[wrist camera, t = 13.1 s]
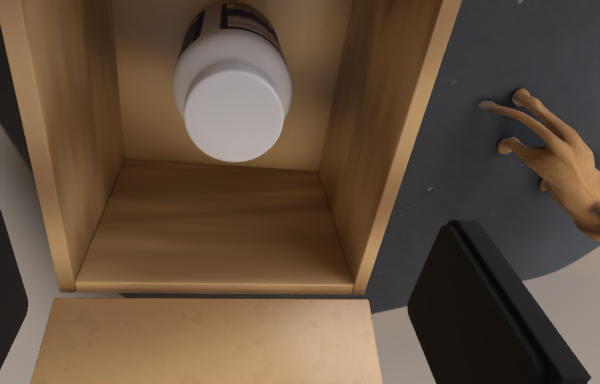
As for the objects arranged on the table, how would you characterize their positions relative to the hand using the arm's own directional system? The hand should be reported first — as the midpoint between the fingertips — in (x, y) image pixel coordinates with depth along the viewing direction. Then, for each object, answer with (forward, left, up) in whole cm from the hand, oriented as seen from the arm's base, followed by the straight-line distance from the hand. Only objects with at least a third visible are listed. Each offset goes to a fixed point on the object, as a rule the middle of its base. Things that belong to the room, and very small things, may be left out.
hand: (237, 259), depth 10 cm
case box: (+1, 0, -19) cm, 19 cm away
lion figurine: (+5, +24, -19) cm, 31 cm away
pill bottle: (+1, 0, -19) cm, 19 cm away
